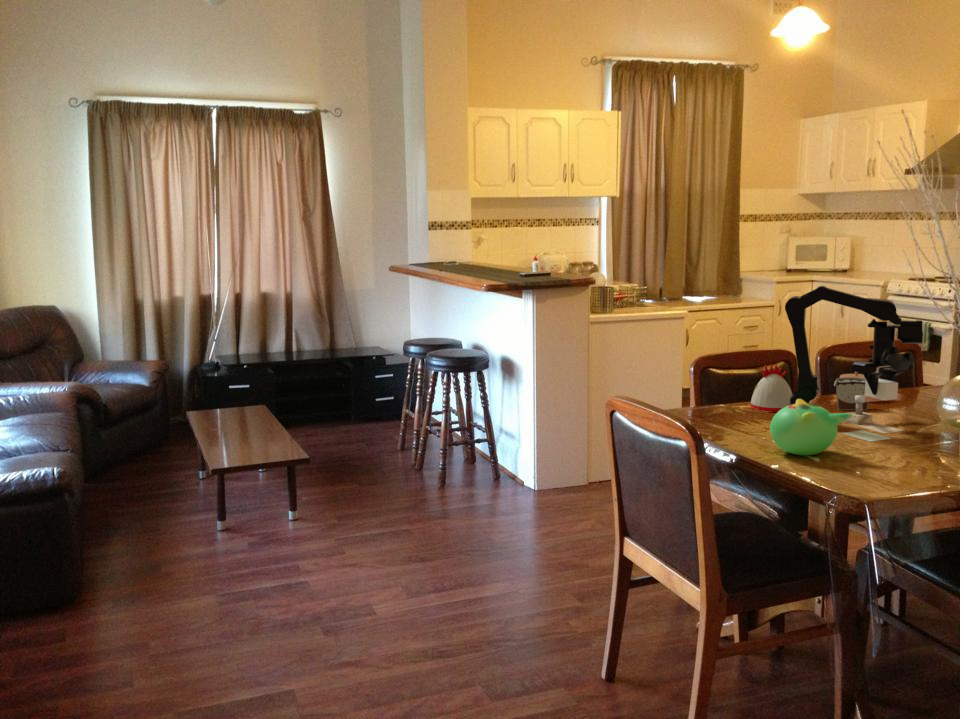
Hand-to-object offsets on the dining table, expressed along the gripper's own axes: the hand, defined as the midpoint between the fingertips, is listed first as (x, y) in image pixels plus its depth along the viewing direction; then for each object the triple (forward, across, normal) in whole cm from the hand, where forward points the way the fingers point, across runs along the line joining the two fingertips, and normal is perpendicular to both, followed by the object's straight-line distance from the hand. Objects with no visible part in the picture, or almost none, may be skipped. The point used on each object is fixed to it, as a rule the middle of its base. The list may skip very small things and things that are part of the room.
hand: (880, 393), depth 268 cm
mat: (+11, -11, -6) cm, 17 cm away
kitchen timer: (+11, -9, +37) cm, 40 cm away
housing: (+11, 0, +2) cm, 11 cm away
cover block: (+1, 0, 0) cm, 1 cm away
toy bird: (+11, -40, -13) cm, 44 cm away
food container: (+11, +14, +26) cm, 32 cm away
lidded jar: (+11, +28, +38) cm, 48 cm away
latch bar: (+4, +6, +7) cm, 10 cm away
